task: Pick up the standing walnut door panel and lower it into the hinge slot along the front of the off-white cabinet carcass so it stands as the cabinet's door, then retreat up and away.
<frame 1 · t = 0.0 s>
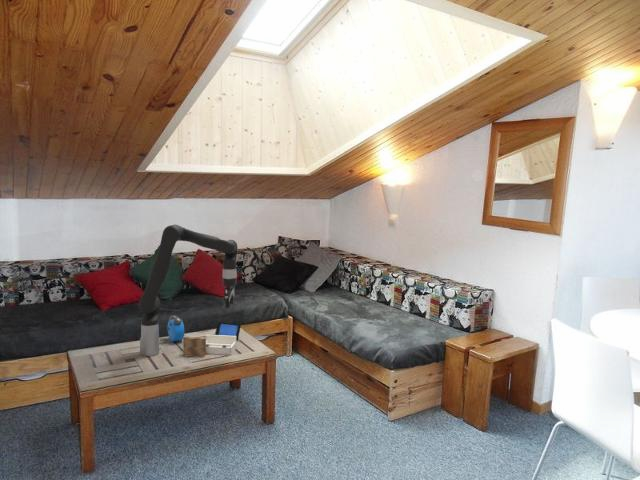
hand: (229, 305, 262), 29 cm above the table, fingers open, 8 cm apart
carcass: (218, 350, 276), on the table
handheld game console: (225, 340, 294), on the table
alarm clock: (175, 341, 291), on the table
door panel: (194, 355, 268), on the table
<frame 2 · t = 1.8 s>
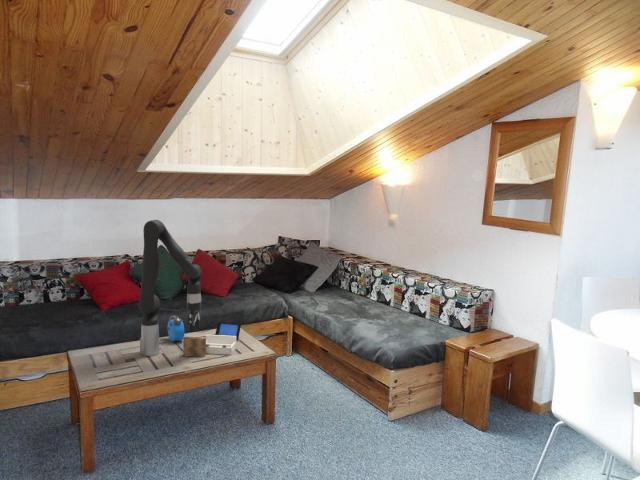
hand: (194, 329, 266), 15 cm above the table, fingers open, 8 cm apart
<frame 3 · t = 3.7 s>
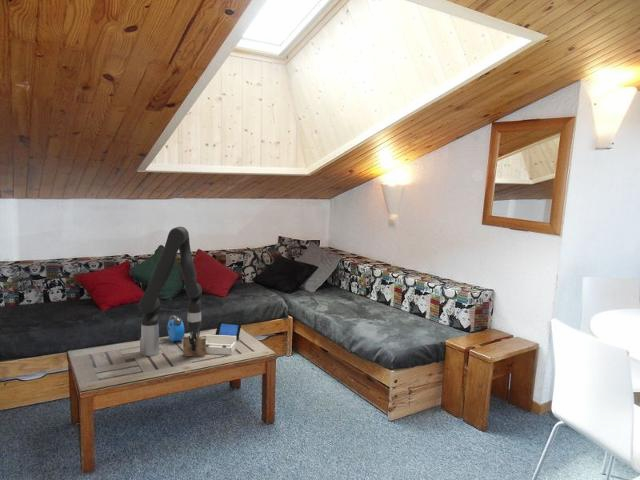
hand: (194, 349, 267), 3 cm above the table, fingers closed on door panel, 2 cm apart
door panel: (194, 354, 268), on the table, touching gripper
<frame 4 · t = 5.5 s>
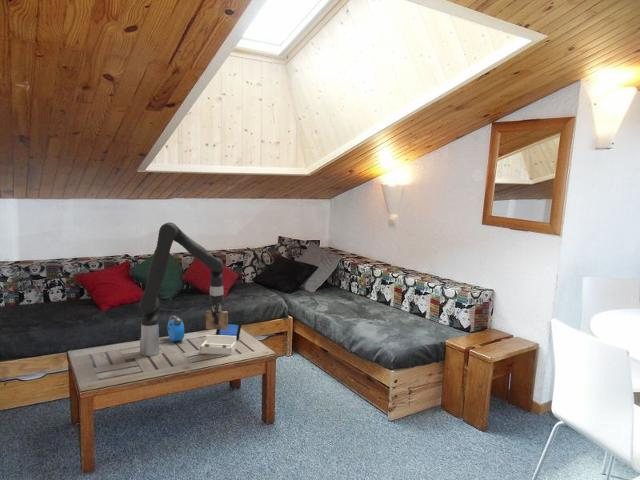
hand: (216, 323, 271), 17 cm above the table, fingers closed on door panel, 2 cm apart
door panel: (217, 328, 271), point 14 cm above the table, touching gripper
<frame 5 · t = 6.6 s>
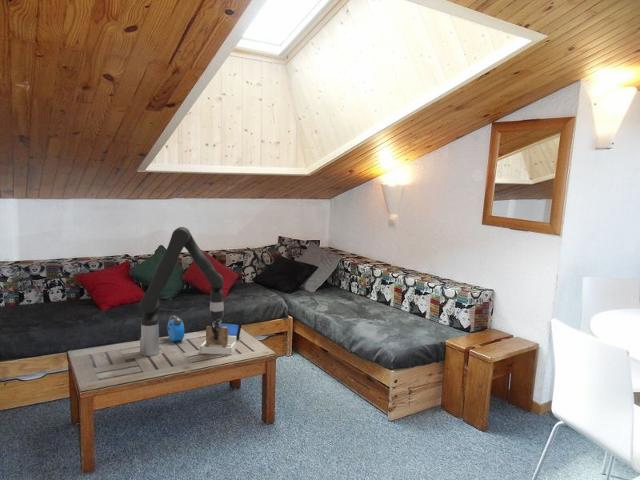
hand: (216, 338, 272), 8 cm above the table, fingers closed on door panel, 2 cm apart
door panel: (217, 344, 272), point 5 cm above the table, touching gripper
when the fingers open (5 cm above the table, at t = 7.4 s): door panel stays where it is, resting on carcass.
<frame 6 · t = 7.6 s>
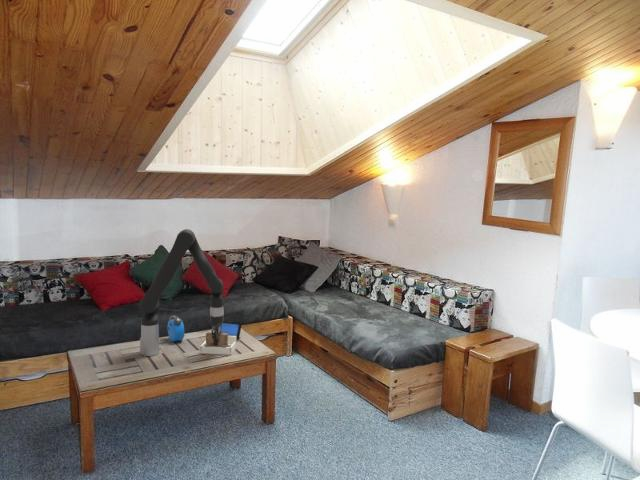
hand: (216, 343, 272), 5 cm above the table, fingers open, 4 cm apart
door panel: (216, 350, 273), point 1 cm above the table, touching carcass
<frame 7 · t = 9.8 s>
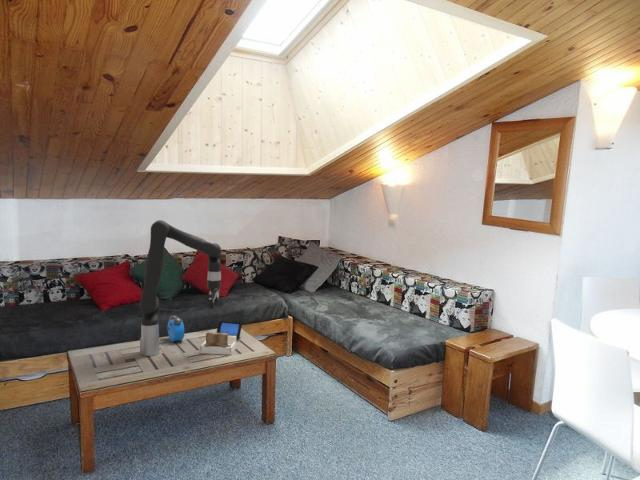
hand: (213, 306, 273), 26 cm above the table, fingers open, 8 cm apart
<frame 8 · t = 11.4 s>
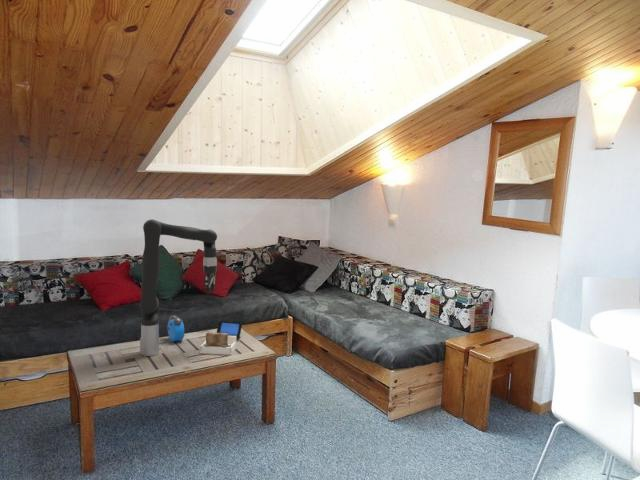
hand: (210, 292, 276), 33 cm above the table, fingers open, 8 cm apart
at the end: door panel 0.1 cm from the target spot on the carcass, point 1.0 cm above the carcass's base; door panel tilted 0°; the gripper is holding nothing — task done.
